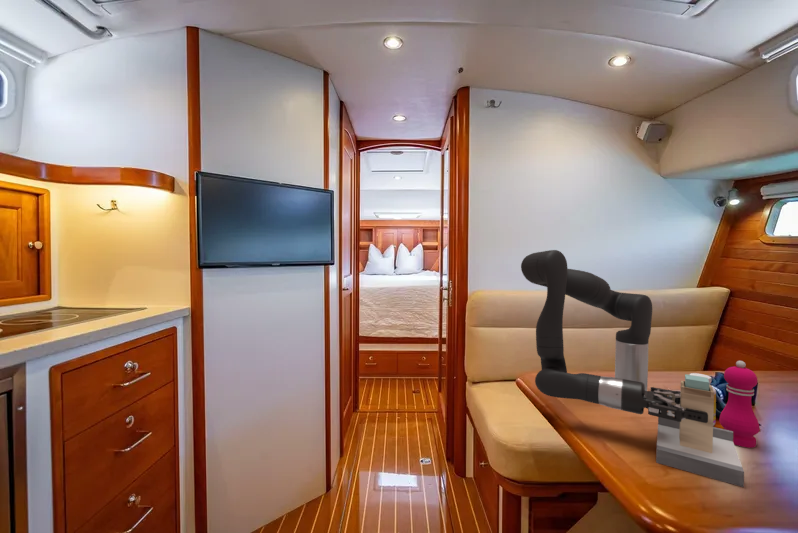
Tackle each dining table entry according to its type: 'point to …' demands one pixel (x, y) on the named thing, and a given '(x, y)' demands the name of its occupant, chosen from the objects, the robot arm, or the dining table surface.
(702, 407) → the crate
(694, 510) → the dining table surface
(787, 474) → the dining table surface
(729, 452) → the dock
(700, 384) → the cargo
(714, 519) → the dining table surface
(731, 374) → the pepper mill
